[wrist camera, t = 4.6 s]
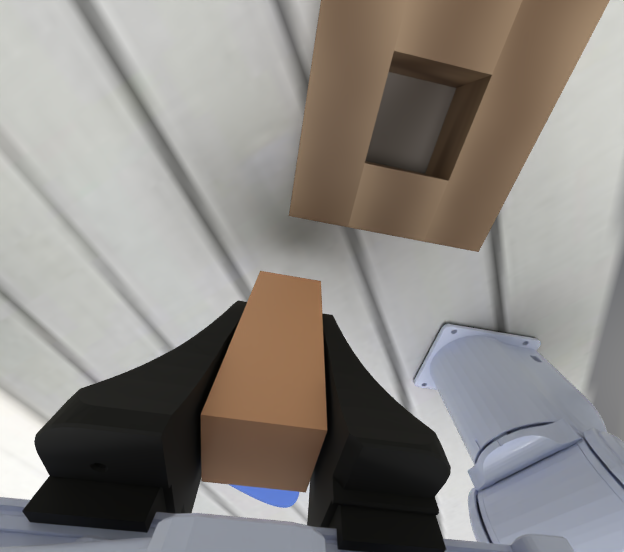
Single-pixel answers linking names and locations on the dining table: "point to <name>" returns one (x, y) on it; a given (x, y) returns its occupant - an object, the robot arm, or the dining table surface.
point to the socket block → (430, 110)
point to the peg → (269, 391)
